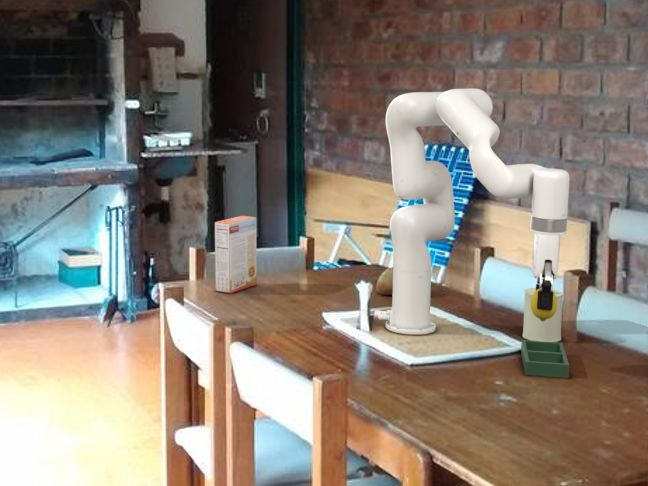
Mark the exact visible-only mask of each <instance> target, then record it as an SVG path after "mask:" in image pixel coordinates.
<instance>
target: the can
mask: <svg viewBox="0 0 648 486" xmlns="http://www.w3.org/2000/svg"><path fill="white" fill-rule="evenodd" d="M535 291H536V287H530V288H529V287H528V288H526V289H525V290H524V291H523V292H524V304H523V306H524V307H523V329H522V338H524V340H529V341H543V342H558V343H559V342H560V341H562V317H563V316H562V314H563V298H564V292H563V291H561V290H559V289H554V288H553V292H554V294H555V295H556V299H557V309H556V312H555V314H554V315H553V316H552V317H551V318H549V319H546V320H545V321H541V320H540V319H539V318H537V317H536V316H535V315H534V314H533V312H532V310H531V298H532V295H533V293H534V292H535Z"/></svg>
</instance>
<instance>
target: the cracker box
mask: <svg viewBox="0 0 648 486" xmlns="http://www.w3.org/2000/svg"><path fill="white" fill-rule="evenodd" d="M257 251H258V250H257V217H256V216H249V215H239V216H235V217H231V218H227V219H222V220H217V221H215V222H214V267H215V268H214V273H215V274H214V276H215V277H214V278H215V279H214V280H215V281H214V282H215V287H214V289H215V292H219V293H225V294H233V293H236V292H239V291H243V290H245V289H248V288H251V287H254V286H257V284H258V283H257V278H258V277H257V274H258V273H257V271H258V270H257V268H258V267H257V266H258V262H257V260H258V259H257Z"/></svg>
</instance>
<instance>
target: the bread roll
mask: <svg viewBox="0 0 648 486" xmlns="http://www.w3.org/2000/svg"><path fill="white" fill-rule="evenodd" d="M375 285H376V288H375V289H376V292H377V293H378V294H380V295H382V296H392V294H393V266H391V267H388V268H386V269H385V270H384V271H382V273H381V274H380V275H379V278H378V279H377V282H376V284H375Z"/></svg>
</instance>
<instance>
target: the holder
mask: <svg viewBox="0 0 648 486" xmlns="http://www.w3.org/2000/svg"><path fill="white" fill-rule="evenodd" d="M520 346H521V347H520V350H521V351H520V353H521V360H522V365H523V371H524V376H533V377H544V378H545V377H547V378H560V379H569V378H570V363H569V360H568V356H567V353H566V350H565V346H564V343H563V342H559V341H558V342H543V341H530V340H527V339H521V345H520Z"/></svg>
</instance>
